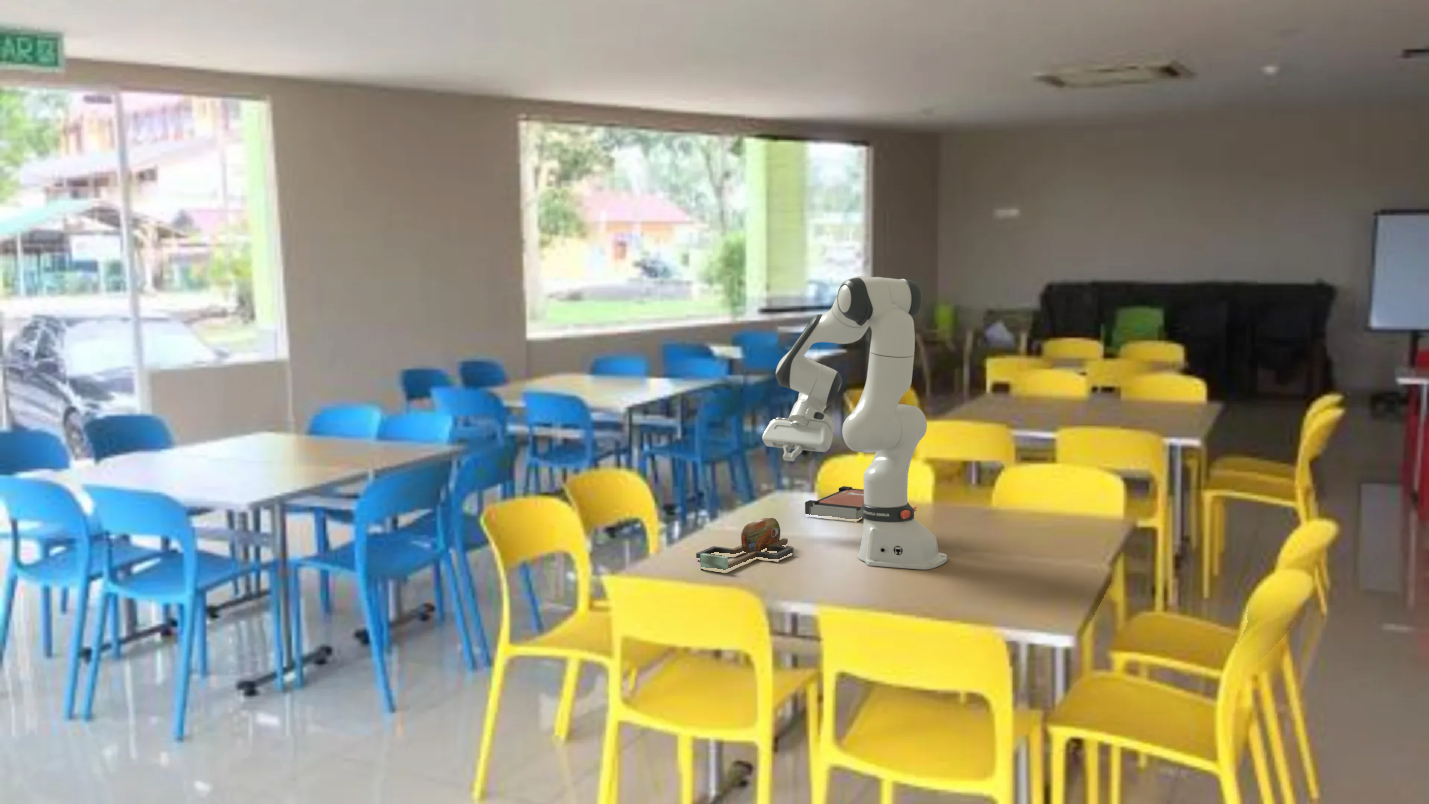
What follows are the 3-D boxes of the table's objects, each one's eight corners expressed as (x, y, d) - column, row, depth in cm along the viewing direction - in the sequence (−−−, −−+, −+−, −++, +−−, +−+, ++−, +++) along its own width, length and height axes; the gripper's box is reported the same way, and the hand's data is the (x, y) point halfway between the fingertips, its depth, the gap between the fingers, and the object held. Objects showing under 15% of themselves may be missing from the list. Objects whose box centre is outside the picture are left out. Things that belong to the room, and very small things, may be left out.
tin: (749, 558, 307) (748, 526, 306) (739, 556, 309) (738, 525, 308) (781, 546, 319) (781, 515, 318) (771, 544, 321) (771, 514, 320)
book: (858, 524, 344) (858, 507, 343) (805, 518, 353) (804, 502, 352) (894, 506, 366) (894, 490, 365) (843, 501, 375) (843, 486, 374)
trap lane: (807, 548, 316) (807, 533, 315) (746, 576, 290) (746, 560, 289) (745, 540, 326) (744, 526, 326) (680, 567, 300) (680, 551, 300)
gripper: (768, 410, 339) (751, 449, 332) (833, 415, 328) (816, 456, 321) (776, 423, 343) (759, 462, 336) (840, 429, 332) (824, 469, 326)
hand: (787, 459), depth 329 cm, fingers closed
